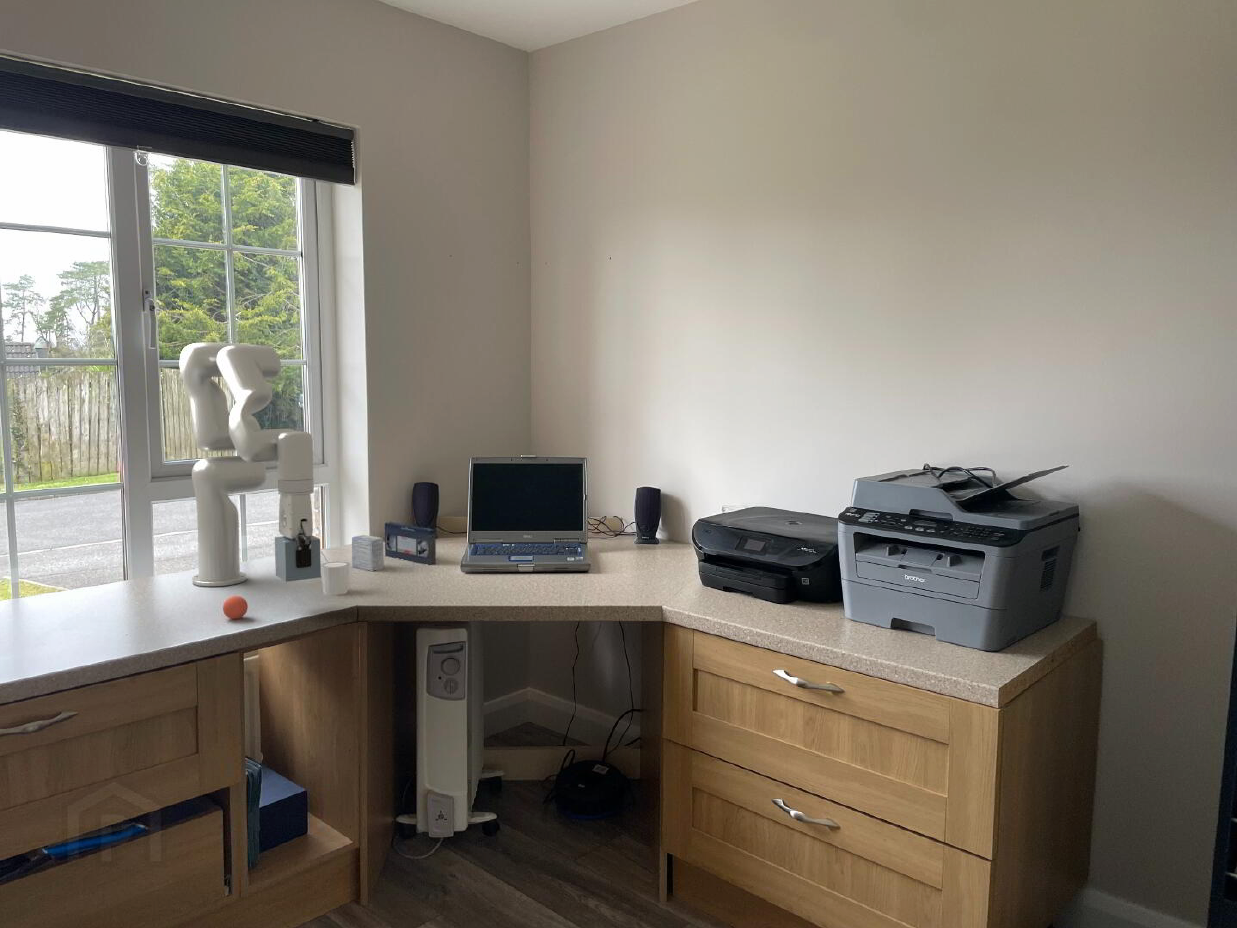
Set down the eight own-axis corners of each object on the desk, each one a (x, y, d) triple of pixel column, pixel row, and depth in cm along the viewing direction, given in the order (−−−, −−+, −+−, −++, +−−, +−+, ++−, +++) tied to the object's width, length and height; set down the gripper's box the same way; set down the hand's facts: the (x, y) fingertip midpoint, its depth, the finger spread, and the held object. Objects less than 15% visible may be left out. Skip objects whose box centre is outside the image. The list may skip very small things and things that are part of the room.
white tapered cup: (341, 596, 217) (341, 568, 217) (315, 594, 219) (315, 566, 218) (355, 589, 224) (355, 562, 223) (329, 587, 225) (329, 560, 225)
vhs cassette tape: (384, 556, 262) (384, 522, 261) (392, 554, 265) (392, 521, 264) (428, 566, 252) (428, 531, 251) (436, 564, 254) (436, 529, 253)
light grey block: (384, 569, 247) (384, 537, 246) (371, 572, 243) (371, 540, 242) (364, 564, 251) (364, 534, 250) (351, 567, 247) (351, 536, 246)
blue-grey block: (275, 575, 205) (274, 537, 204) (309, 571, 209) (308, 533, 208) (286, 581, 199) (284, 542, 198) (320, 577, 203) (320, 538, 202)
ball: (220, 617, 198) (220, 595, 197) (244, 614, 201) (244, 592, 200) (226, 623, 194) (225, 600, 193) (250, 619, 197) (250, 597, 196)
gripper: (267, 483, 207) (269, 559, 208) (290, 492, 193) (292, 573, 194) (300, 481, 211) (302, 555, 213) (325, 489, 197) (327, 568, 199)
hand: (297, 563), depth 204 cm, fingers closed on blue-grey block, 7 cm apart
